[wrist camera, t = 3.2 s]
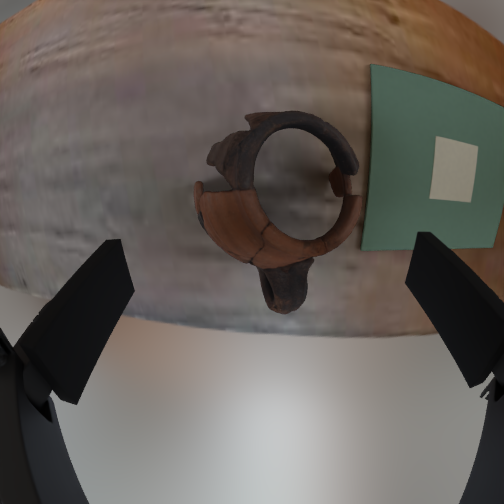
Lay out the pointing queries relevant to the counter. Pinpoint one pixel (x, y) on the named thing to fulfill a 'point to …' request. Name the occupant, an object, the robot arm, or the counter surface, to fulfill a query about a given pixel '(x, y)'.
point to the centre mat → (432, 163)
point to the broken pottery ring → (256, 221)
